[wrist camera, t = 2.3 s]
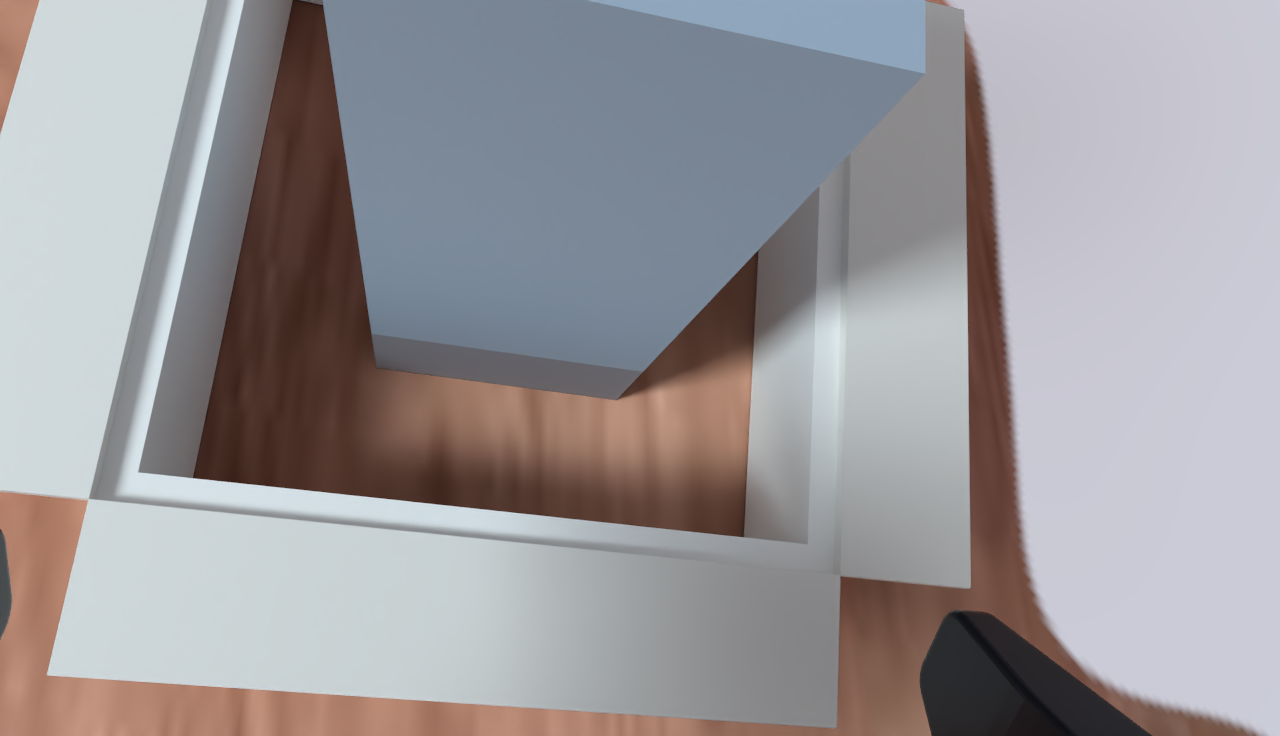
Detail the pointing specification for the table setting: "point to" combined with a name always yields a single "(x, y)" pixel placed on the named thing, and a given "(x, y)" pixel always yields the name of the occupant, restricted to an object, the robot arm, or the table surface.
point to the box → (589, 165)
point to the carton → (439, 534)
